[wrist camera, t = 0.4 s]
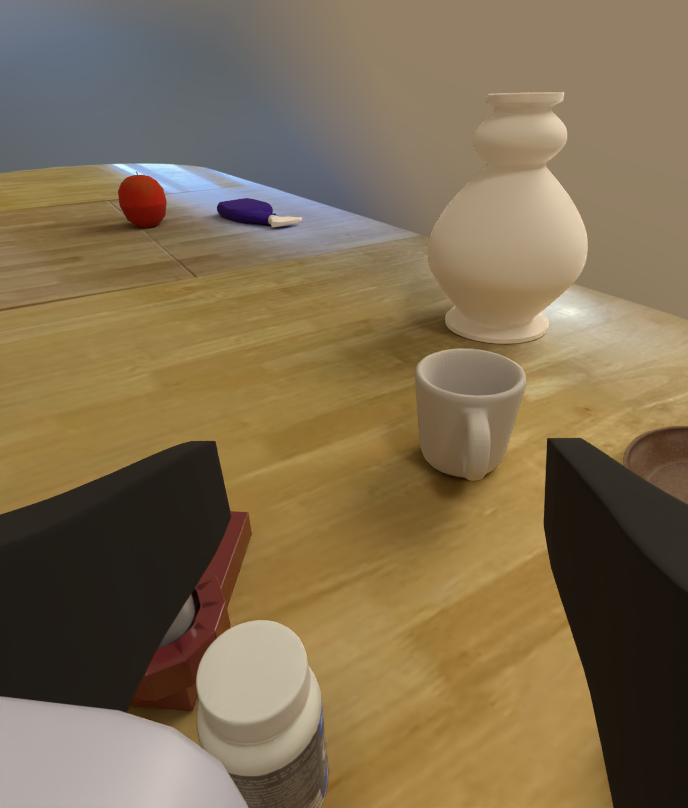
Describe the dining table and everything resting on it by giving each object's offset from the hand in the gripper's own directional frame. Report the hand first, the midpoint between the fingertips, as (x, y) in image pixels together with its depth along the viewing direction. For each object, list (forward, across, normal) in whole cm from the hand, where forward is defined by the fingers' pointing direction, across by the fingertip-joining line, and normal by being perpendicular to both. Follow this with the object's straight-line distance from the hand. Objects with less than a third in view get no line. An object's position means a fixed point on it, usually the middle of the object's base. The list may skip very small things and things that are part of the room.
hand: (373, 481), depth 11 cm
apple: (+107, +68, -4) cm, 127 cm away
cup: (+28, -2, +15) cm, 32 cm away
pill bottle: (+4, +6, +18) cm, 20 cm away
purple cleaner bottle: (+114, +44, -3) cm, 122 cm away
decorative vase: (+58, -6, +11) cm, 59 cm away
